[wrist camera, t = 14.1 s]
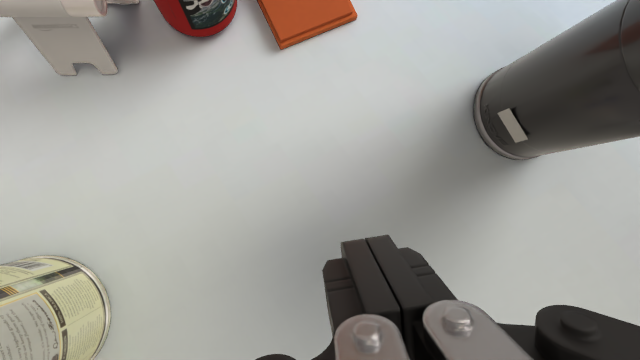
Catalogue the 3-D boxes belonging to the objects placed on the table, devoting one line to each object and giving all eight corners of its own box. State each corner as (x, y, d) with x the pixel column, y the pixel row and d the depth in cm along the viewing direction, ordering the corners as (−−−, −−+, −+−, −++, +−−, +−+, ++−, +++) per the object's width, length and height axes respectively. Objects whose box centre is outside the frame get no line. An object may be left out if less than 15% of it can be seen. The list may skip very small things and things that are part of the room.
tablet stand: (139, -13, 30) (87, -96, 22) (143, 73, 29) (92, 21, 21) (31, -13, 29) (-67, -103, 20) (34, 76, 28) (-66, 22, 20)
